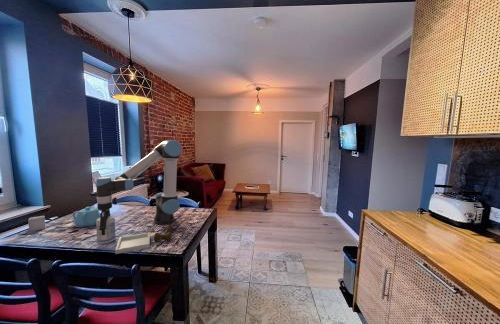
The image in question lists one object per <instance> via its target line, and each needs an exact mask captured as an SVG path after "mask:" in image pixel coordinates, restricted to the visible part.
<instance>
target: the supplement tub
mask: <svg viewBox="0 0 500 324" xmlns="http://www.w3.org/2000/svg"><path fill="white" fill-rule="evenodd" d="M95 225H96V226H95V227H96V242H97V243H98V244H100V245H105V244H108V243H112V242H114V241H115V239H116V220H115V216H114V215H111V216H108V218H107V222H106V231H107V240H101V230H99V229H100V218H98V219H97V220H96V224H95ZM102 228H104V227H102Z"/></svg>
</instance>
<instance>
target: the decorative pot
mask: <svg viewBox="0 0 500 324" xmlns="http://www.w3.org/2000/svg"><path fill="white" fill-rule="evenodd" d="M101 212H102V210H98V208H97V207H94V206H93V207H91V206H86V207H85V208H82V209H80V210H76V211H73V212H72V218H73V219H72V223H73V224H75V226H76V227H79V228H83V227H94V226H95V225H96V220H97V219H98V218H100V213H101ZM76 214H77V215H76Z"/></svg>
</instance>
